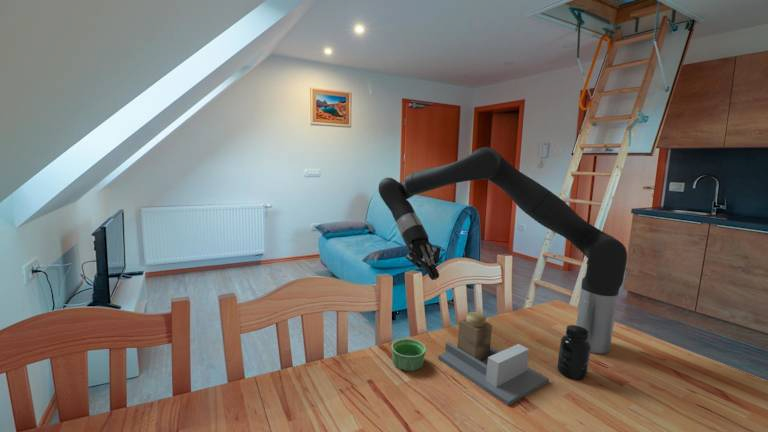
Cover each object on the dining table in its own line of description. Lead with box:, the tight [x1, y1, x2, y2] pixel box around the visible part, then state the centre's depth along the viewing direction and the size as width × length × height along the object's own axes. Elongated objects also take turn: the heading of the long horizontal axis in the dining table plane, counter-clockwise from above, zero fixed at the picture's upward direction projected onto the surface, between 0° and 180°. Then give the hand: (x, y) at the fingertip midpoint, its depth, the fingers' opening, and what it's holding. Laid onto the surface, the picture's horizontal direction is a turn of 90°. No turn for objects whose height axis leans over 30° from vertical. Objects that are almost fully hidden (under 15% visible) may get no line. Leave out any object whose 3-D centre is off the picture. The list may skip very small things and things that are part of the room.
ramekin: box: [391, 338, 427, 372], centre depth 94 cm, size 9×9×4 cm
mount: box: [437, 341, 550, 406], centre depth 93 cm, size 16×23×7 cm
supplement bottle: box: [556, 324, 591, 381], centre depth 92 cm, size 7×7×12 cm
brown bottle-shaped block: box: [457, 311, 493, 361], centre depth 96 cm, size 6×6×11 cm
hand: (435, 278), depth 107 cm, fingers closed
